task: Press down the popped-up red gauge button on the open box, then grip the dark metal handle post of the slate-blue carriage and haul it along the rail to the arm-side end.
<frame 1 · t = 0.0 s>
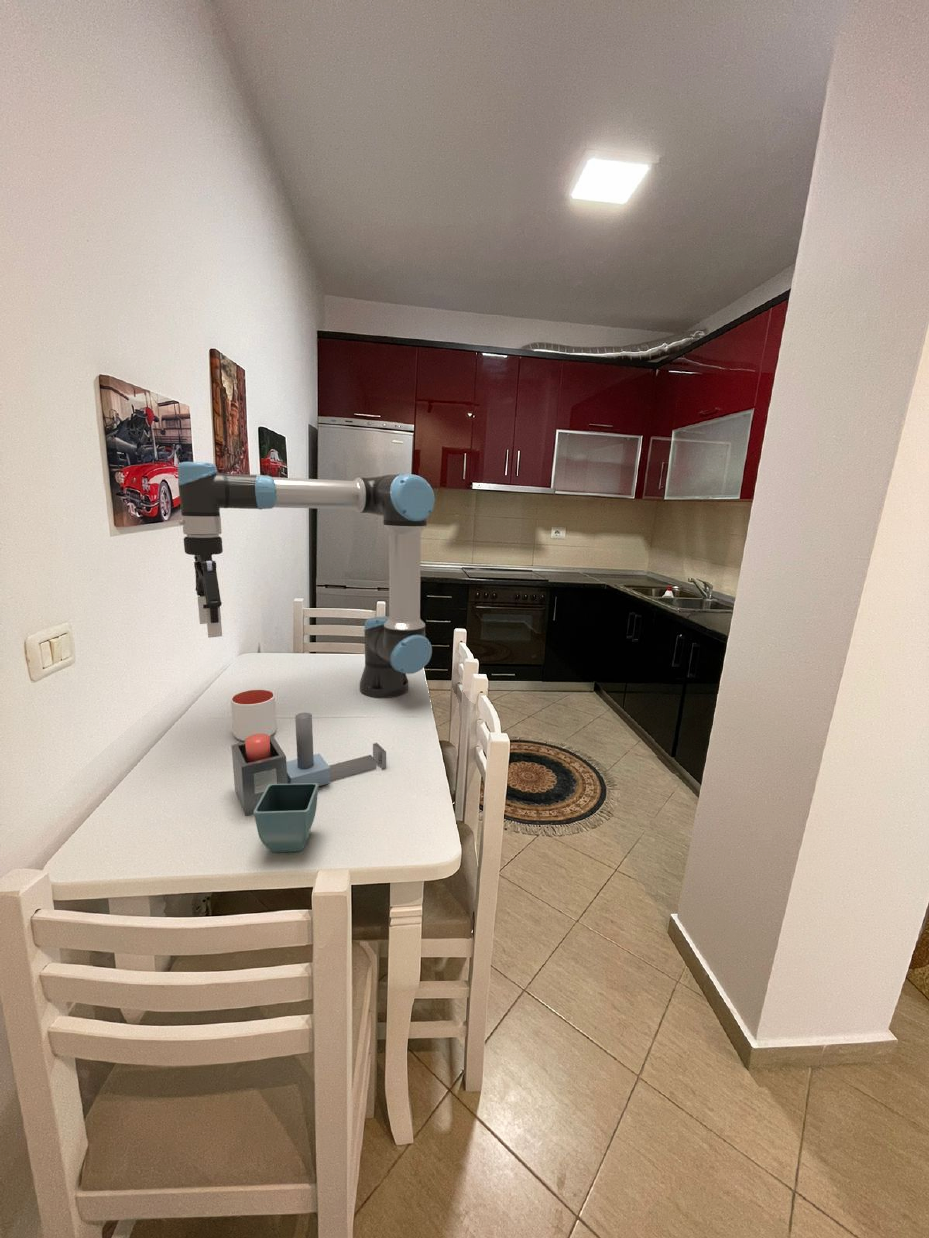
hand: (210, 629, 117), 28 cm above the table, fingers open, 13 cm apart
gauge button: (258, 750, 100), point 10 cm above the table, slide at 0.0 cm
cup: (255, 735, 128), on the table
open box: (261, 796, 102), on the table
carriage: (305, 749, 105), point 8 cm above the table, slide at 5.0 cm
rail: (329, 777, 110), on the table
flower pot: (289, 843, 89), on the table
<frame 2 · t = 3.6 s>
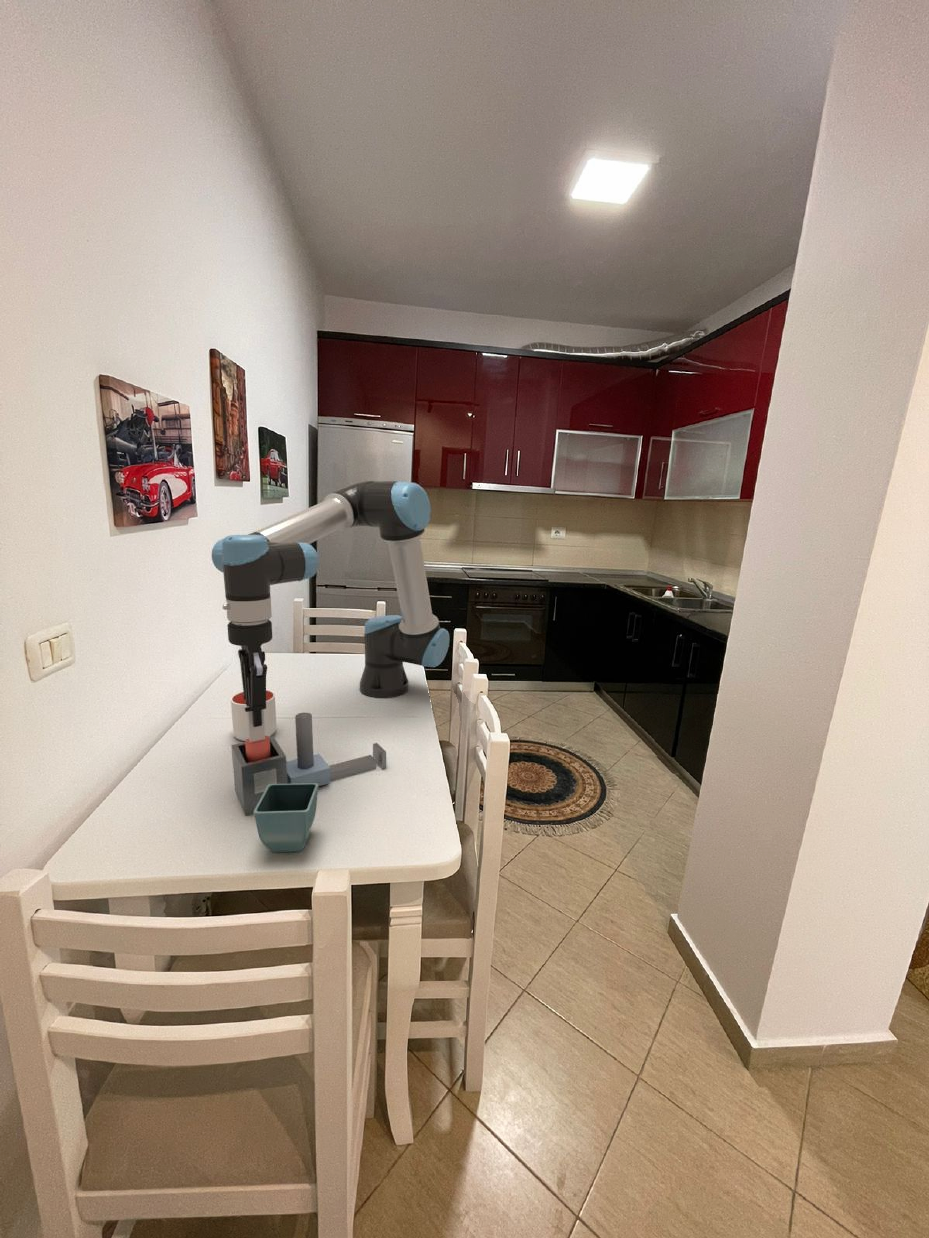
hand: (257, 739, 99), 12 cm above the table, fingers closed
gauge button: (258, 751, 100), point 10 cm above the table, slide at 0.3 cm, touching gripper
everything else where it was.
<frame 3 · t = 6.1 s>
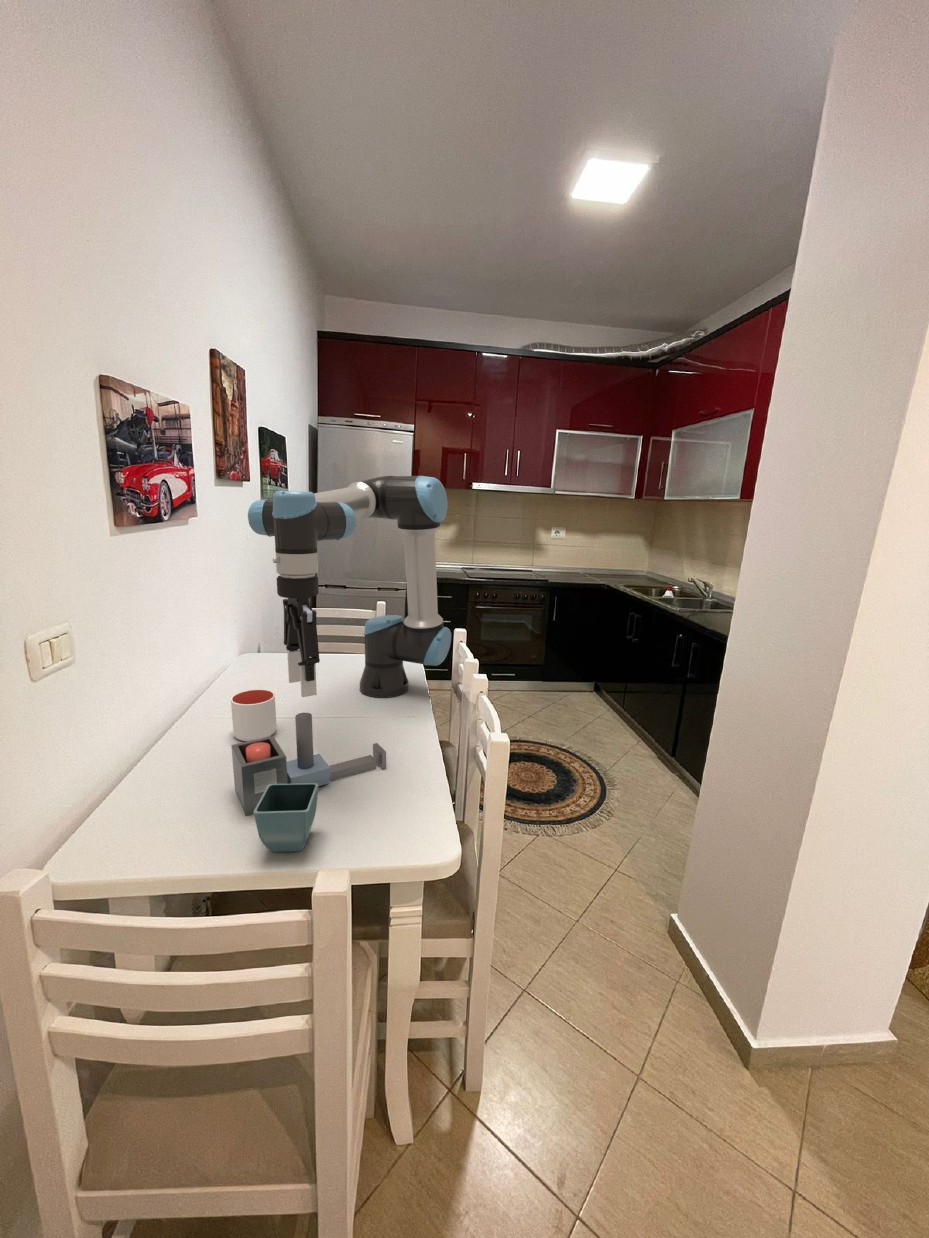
hand: (302, 688, 102), 21 cm above the table, fingers open, 8 cm apart
gauge button: (258, 759, 100), point 8 cm above the table, slide at 1.9 cm
everything else where it was.
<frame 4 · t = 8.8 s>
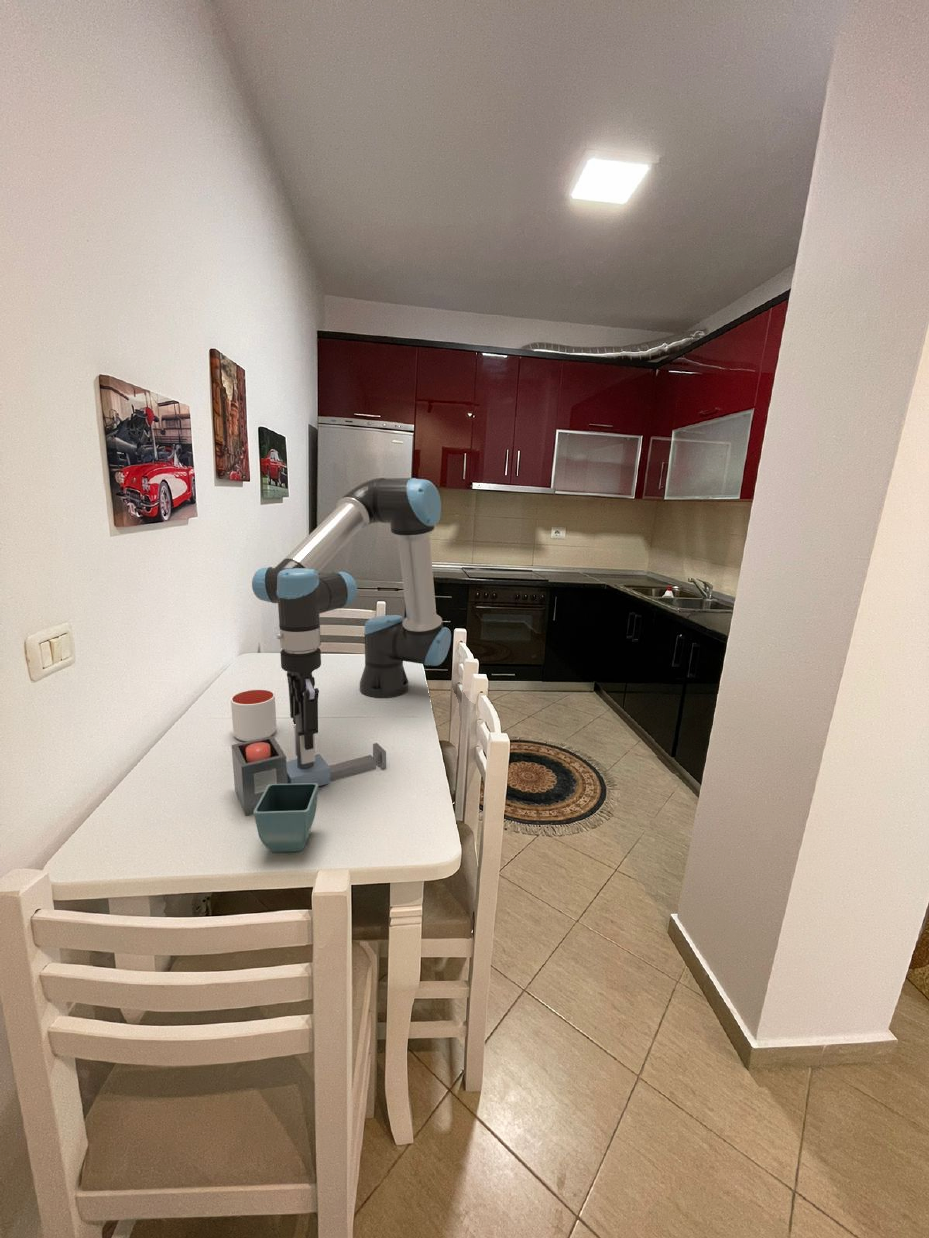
hand: (305, 757, 106), 6 cm above the table, fingers closed on carriage, 3 cm apart
carriage: (305, 749, 105), point 8 cm above the table, slide at 5.0 cm, touching gripper
everything else where it was.
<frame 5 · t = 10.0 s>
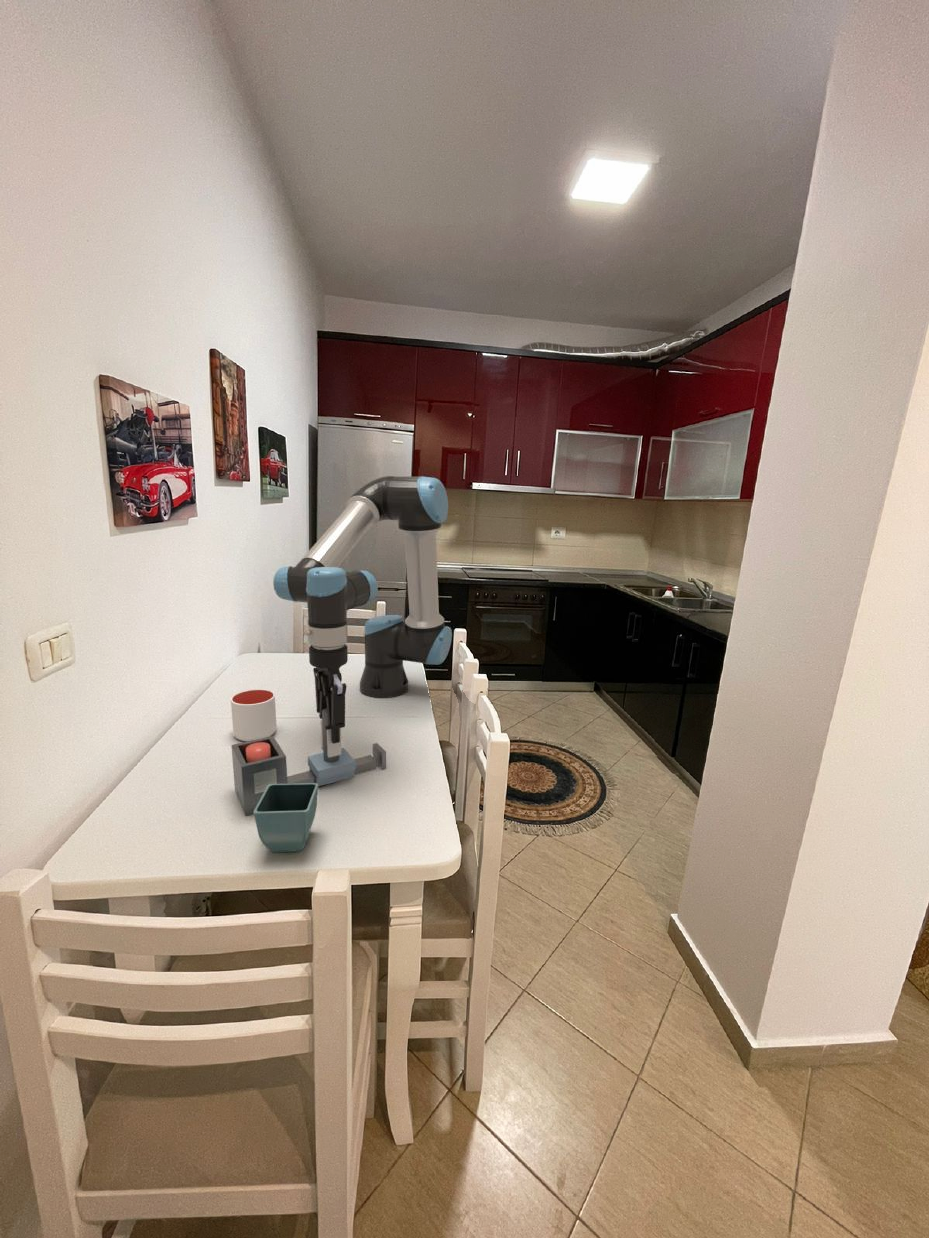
hand: (331, 751, 109), 6 cm above the table, fingers closed on carriage, 3 cm apart
carriage: (331, 743, 108), point 8 cm above the table, slide at -0.5 cm, touching gripper
everything else where it was.
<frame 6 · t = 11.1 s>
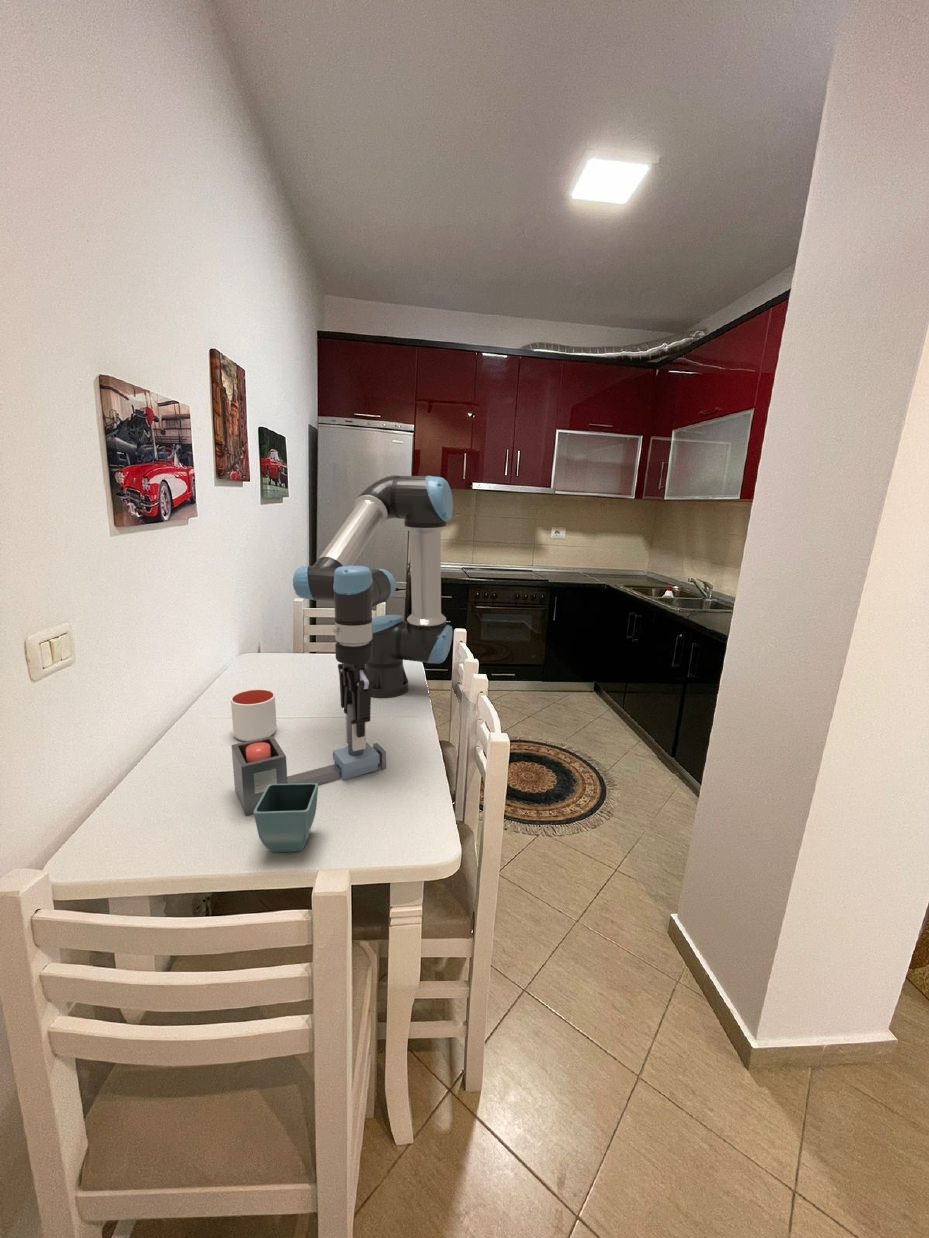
hand: (355, 745, 112), 6 cm above the table, fingers closed on carriage, 3 cm apart
carriage: (355, 737, 111), point 8 cm above the table, slide at -5.9 cm, touching gripper
everything else where it was.
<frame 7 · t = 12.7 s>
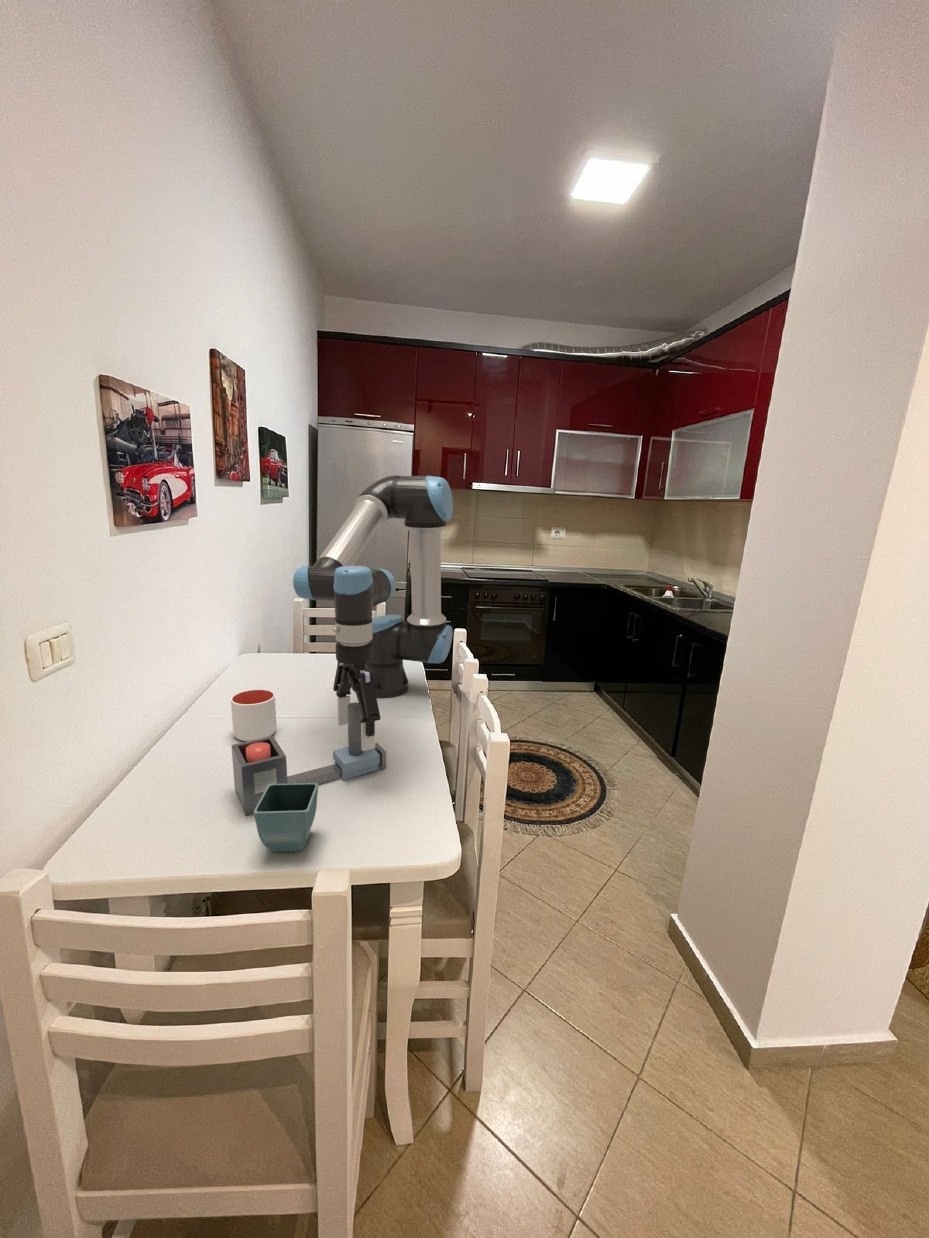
hand: (355, 736, 111), 8 cm above the table, fingers open, 13 cm apart
carriage: (355, 737, 111), point 8 cm above the table, slide at -6.0 cm
everything else where it was.
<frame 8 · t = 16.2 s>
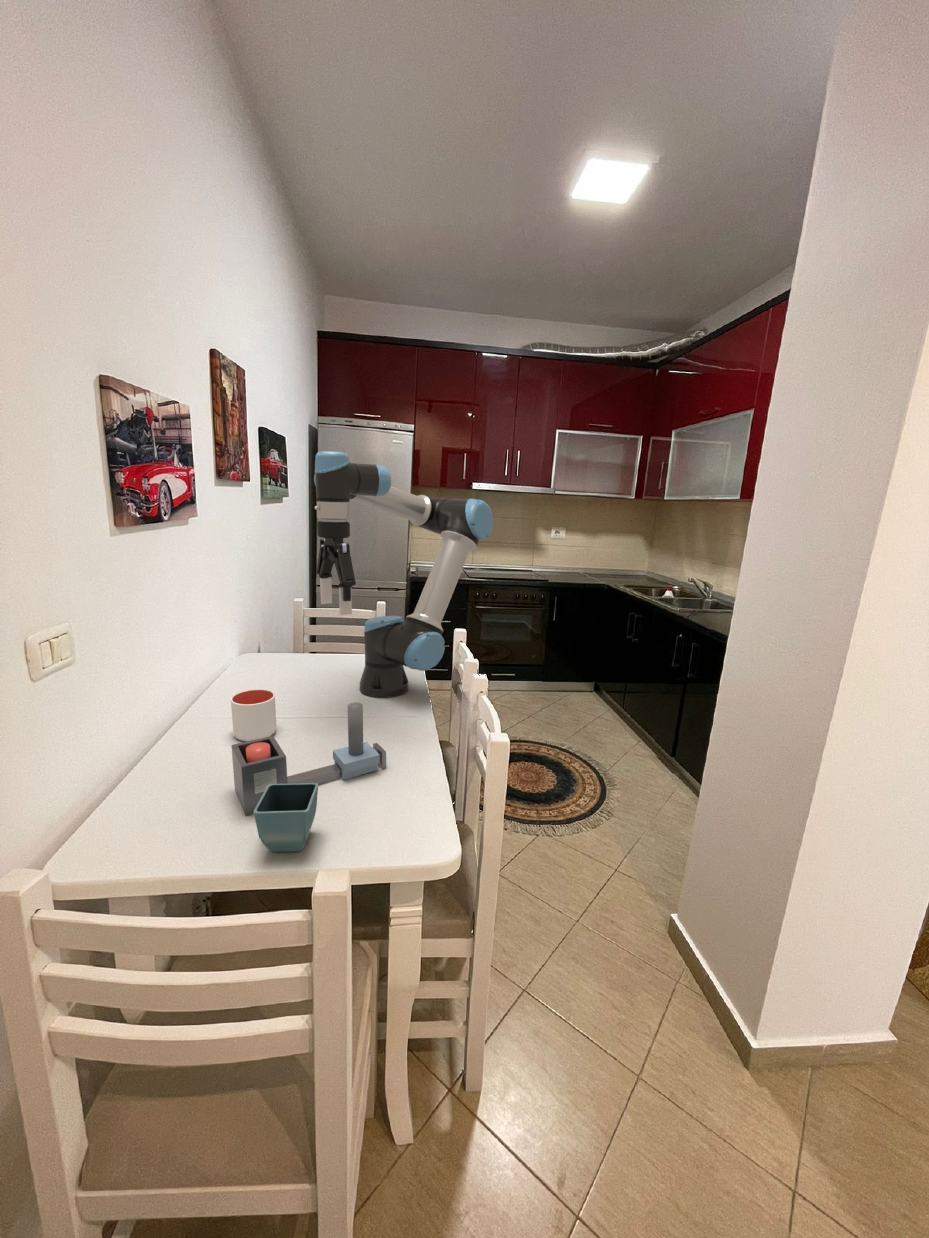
hand: (335, 608, 126), 32 cm above the table, fingers open, 13 cm apart
nothing on the table moved.
at the end: gauge button slide at 1.9 cm; carriage slide at -6.0 cm; the gripper is holding nothing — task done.
